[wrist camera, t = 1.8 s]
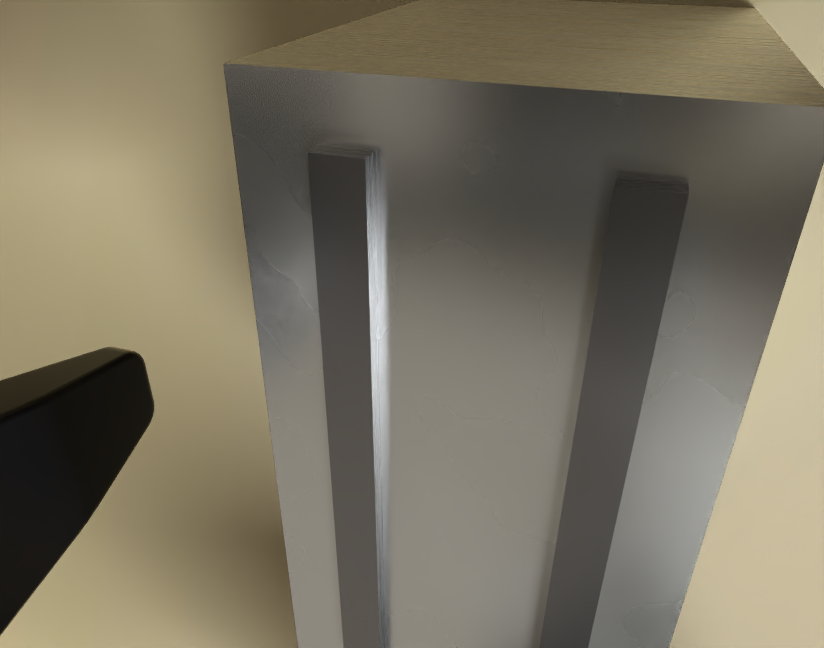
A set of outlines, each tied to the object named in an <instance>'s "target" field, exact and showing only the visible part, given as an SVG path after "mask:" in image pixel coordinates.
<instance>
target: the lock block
mask: <svg viewBox="0 0 824 648" xmlns="http://www.w3.org/2000/svg"><path fill="white" fill-rule="evenodd" d="M223 65H224V73H225V80H226V88H227V96H228V104H229V112H230V119H231V127H232V135H233V143H234V151H235V158H236V166H237V174H238V182H239V190H240V198H241V205H242V213H243V221H244V229H245V237H246V244H247V252H248V260H249V268H250V276H251V283H252V291H253V299H254V307H255V315H256V322H257V330H258V338H259V346H260V354H261V361H262V369H263V377H264V385H265V393H266V401H267V408H268V416H269V424H270V432H271V440H272V447H273V455H274V463H275V471H276V479H277V486H278V494H279V502H280V510H281V518H282V525H283V533H284V541H285V549H286V557H287V564H288V572H289V580H290V588H291V596H292V603H293V611H294V619H295V627H296V635H297V643H298V648H669V645H670V642H671V639H672V636H673V633H674V630H675V626H676V623H677V620H678V617H679V614H680V611H681V608H682V604H683V601H684V598H685V595H686V592H687V589H688V586H689V583H690V579H691V576H692V573H693V570H694V567H695V564H696V561H697V558H698V554H699V551H700V548H701V545H702V542H703V539H704V536H705V532H706V529H707V526H708V523H709V520H710V517H711V514H712V511H713V507H714V504H715V501H716V498H717V495H718V492H719V489H720V486H721V482H722V479H723V476H724V473H725V470H726V467H727V464H728V460H729V457H730V454H731V451H732V448H733V445H734V442H735V439H736V435H737V432H738V429H739V426H740V423H741V420H742V417H743V413H744V410H745V407H746V404H747V401H748V398H749V395H750V392H751V388H752V385H753V382H754V379H755V376H756V373H757V370H758V367H759V363H760V360H761V357H762V354H763V351H764V348H765V345H766V341H767V338H768V335H769V332H770V329H771V326H772V323H773V320H774V316H775V313H776V310H777V307H778V304H779V301H780V298H781V295H782V291H783V288H784V285H785V282H786V279H787V276H788V273H789V269H790V266H791V263H792V260H793V257H794V254H795V251H796V248H797V244H798V241H799V238H800V235H801V232H802V229H803V226H804V222H805V219H806V216H807V213H808V210H809V207H810V204H811V201H812V197H813V194H814V191H815V188H816V185H817V182H818V179H819V176H820V172H821V169H822V166H823V163H824V88H823V87H822V86H821V85H820V83H819V82H818V81H817V80H816V79H815V78H814V76H813V75H812V74H811V73H810V72H809V71H808V69H807V68H806V67H805V66H804V65H803V64H802V62H801V61H800V60H799V59H798V58H797V57H796V55H795V54H794V53H793V52H792V51H791V50H790V48H789V47H788V46H787V45H786V44H785V43H784V41H783V40H782V39H781V38H780V37H779V36H778V34H777V33H776V32H775V31H774V30H773V29H772V27H771V26H770V25H769V24H768V23H767V22H766V20H765V19H764V18H763V17H762V16H761V15H760V13H759V12H758V11H757V10H756V9H755V8H745V7H719V6H694V5H669V4H643V3H618V2H592V1H567V0H417V1H414V2H411V3H408V4H405V5H402V6H398V7H395V8H392V9H389V10H386V11H383V12H380V13H377V14H374V15H371V16H368V17H364V18H361V19H358V20H355V21H352V22H349V23H346V24H343V25H340V26H337V27H334V28H330V29H327V30H324V31H321V32H318V33H315V34H312V35H309V36H306V37H303V38H300V39H296V40H293V41H290V42H287V43H284V44H281V45H278V46H275V47H272V48H269V49H266V50H262V51H259V52H256V53H253V54H250V55H247V56H244V57H241V58H238V59H235V60H232V61H229V62H225V63H223Z"/></svg>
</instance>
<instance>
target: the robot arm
mask: <svg viewBox="0 0 824 648" xmlns="http://www.w3.org/2000/svg"><path fill="white" fill-rule="evenodd" d="M153 413H154V400H153V396H152V392H151V387H150V383H149V379H148V375H147V370H146V366H145V362H144V360H143V358H142V357H141V356H140V354H138V353H136V352H134V351H130V350H125V349H120V348H115V347H106V348H102V349H99V350H96V351H93V352H90V353H86V354H83V355H80V356H77V357H74V358H71V359H67V360H64V361H61V362H58V363H55V364H51V365H48V366H45V367H42V368H39V369H36V370H32V371H29V372H26V373H23V374H20V375H17V376H13V377H10V378H7V379H4V380H1V381H0V636H1V634H2V633H3V632H4V630H5V629H6V628H7V626H8V625H9V624H10V623H11V621H12V620H13V619H14V617H15V616H16V615H17V613H18V612H19V611H20V610H21V608H22V607H23V606H24V604H25V603H26V602H27V600H28V599H29V598H30V597H31V595H32V594H33V593H34V591H35V590H36V589H37V587H38V586H39V585H40V584H41V582H42V581H43V580H44V578H45V577H46V576H47V574H48V573H49V572H50V571H51V569H52V568H53V567H54V565H55V564H56V563H57V561H58V560H59V559H60V558H61V556H62V555H63V554H64V552H65V551H66V550H67V548H68V547H69V546H70V545H71V543H72V542H73V541H74V539H75V538H76V537H77V535H78V534H79V533H80V531H81V530H82V529H83V527H84V526H85V524H86V523H87V522H88V520H89V519H90V517H91V516H92V514H93V513H94V511H95V510H96V508H97V507H98V505H99V504H100V502H101V501H102V499H103V497H104V496H105V494H106V493H107V491H108V489H109V488H110V486H111V485H112V483H113V481H114V480H115V478H116V477H117V475H118V474H119V472H120V470H121V469H122V467H123V466H124V464H125V462H126V461H127V459H128V458H129V456H130V454H131V453H132V451H133V450H134V448H135V446H136V445H137V443H138V442H139V440H140V438H141V437H142V435H143V434H144V432H145V431H146V429H147V427H148V426H149V424H150V422H151V420H152V417H153Z"/></svg>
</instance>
